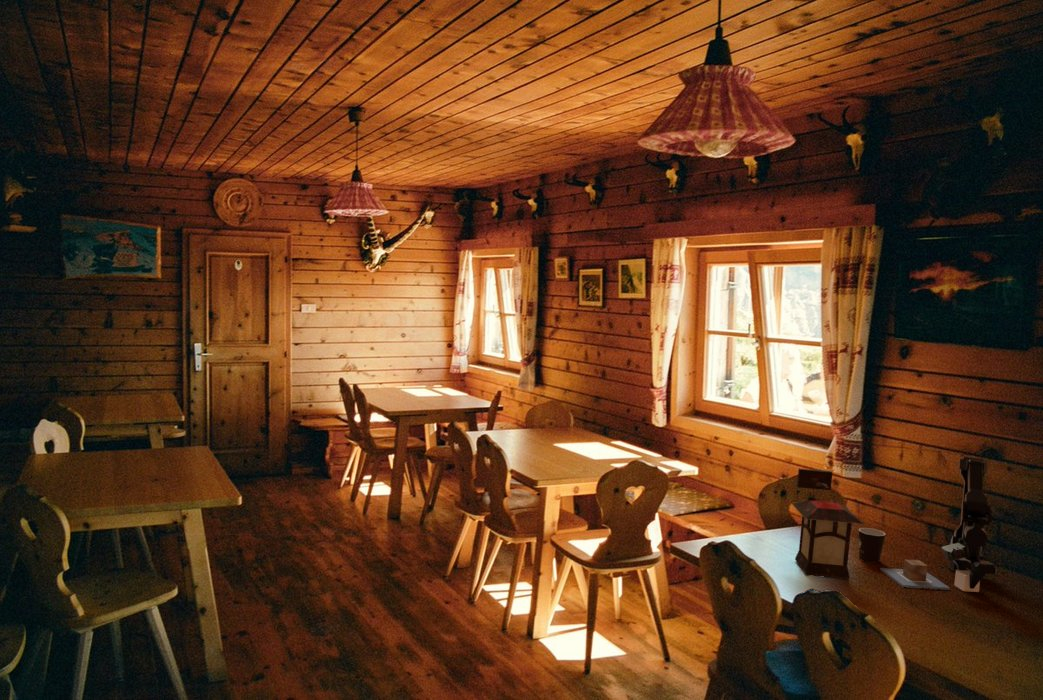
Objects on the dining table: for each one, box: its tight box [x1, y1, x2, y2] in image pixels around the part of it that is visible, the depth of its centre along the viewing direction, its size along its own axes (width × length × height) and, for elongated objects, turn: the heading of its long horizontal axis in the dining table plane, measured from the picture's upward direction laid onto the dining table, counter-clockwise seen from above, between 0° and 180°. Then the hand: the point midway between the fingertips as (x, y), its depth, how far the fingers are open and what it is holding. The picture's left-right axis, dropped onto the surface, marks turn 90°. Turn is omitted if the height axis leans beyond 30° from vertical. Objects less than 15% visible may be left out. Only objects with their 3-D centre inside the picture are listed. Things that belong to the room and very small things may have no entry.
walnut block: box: [903, 559, 928, 581], centre depth 255 cm, size 5×5×5 cm
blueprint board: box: [879, 567, 951, 591], centre depth 255 cm, size 15×15×1 cm
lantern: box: [791, 468, 865, 580], centre depth 261 cm, size 18×26×30 cm
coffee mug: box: [858, 527, 886, 564], centre depth 274 cm, size 12×9×10 cm
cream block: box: [953, 570, 981, 593], centre depth 251 cm, size 5×5×5 cm
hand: (966, 585), depth 251 cm, fingers closed on cream block, 5 cm apart
